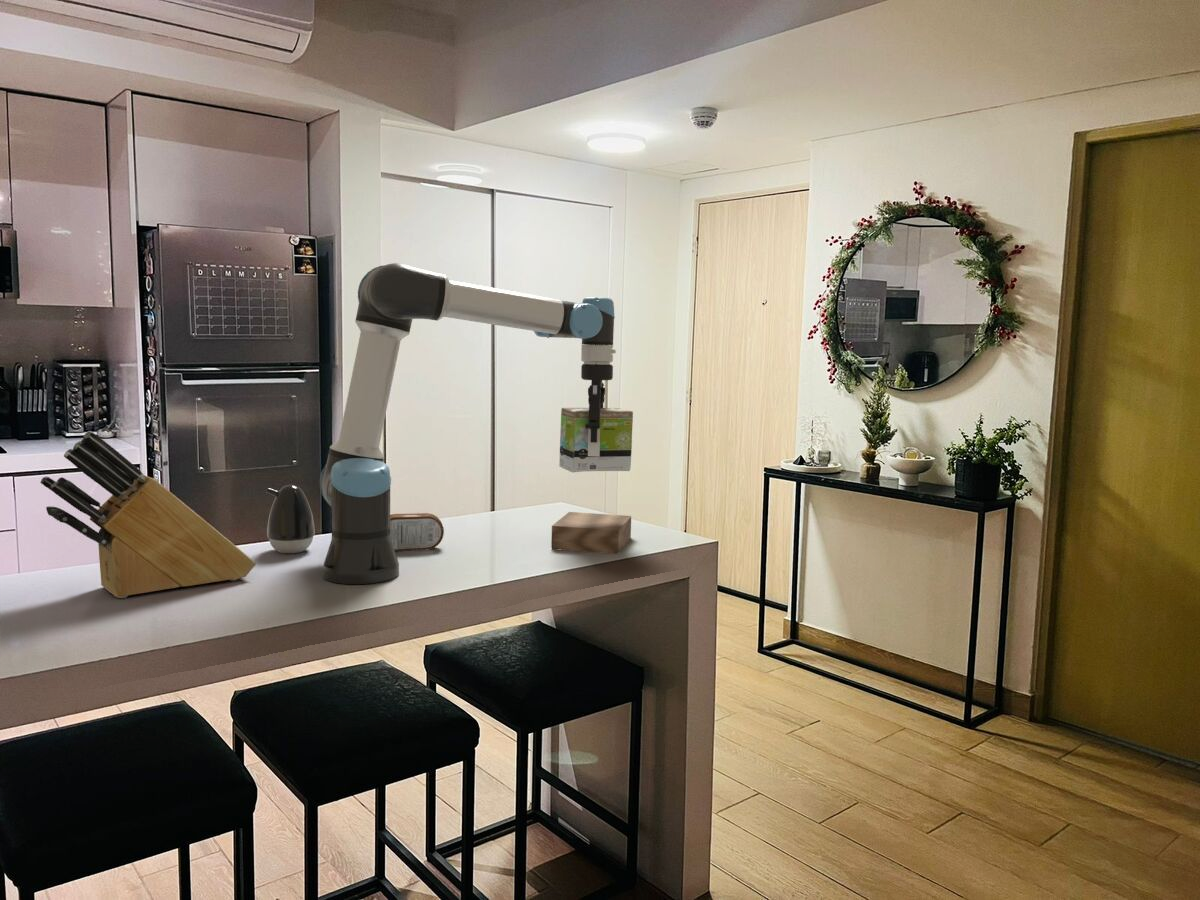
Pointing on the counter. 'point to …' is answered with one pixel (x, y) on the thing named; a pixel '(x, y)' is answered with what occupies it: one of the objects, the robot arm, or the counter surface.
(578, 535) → the walnut block
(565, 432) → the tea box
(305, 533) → the pump dispenser
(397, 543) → the tin
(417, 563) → the counter surface
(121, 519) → the knife block
